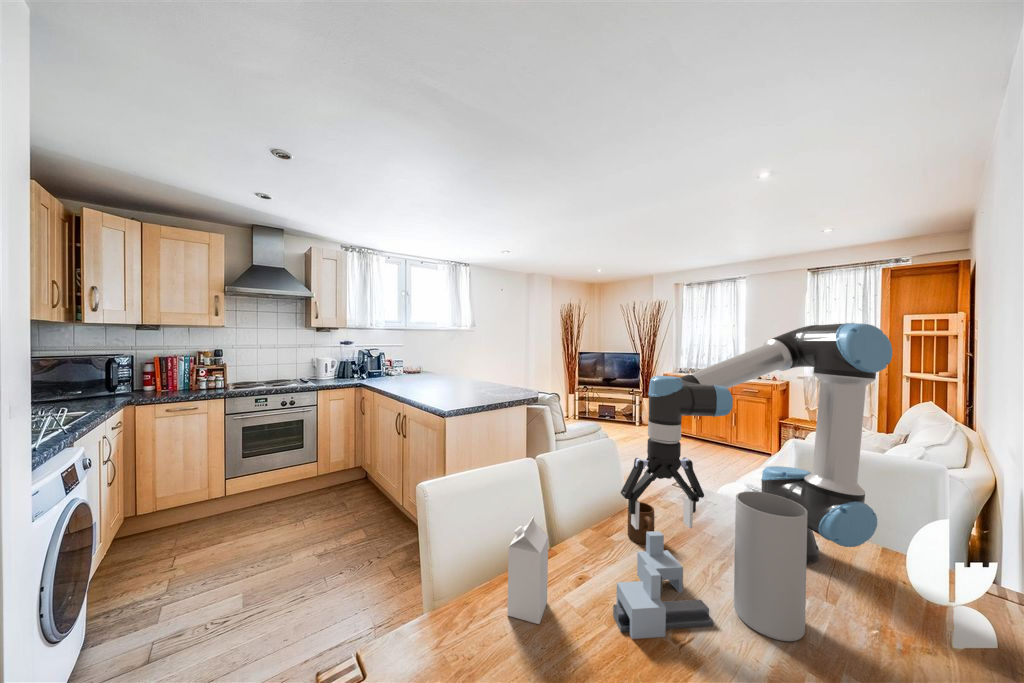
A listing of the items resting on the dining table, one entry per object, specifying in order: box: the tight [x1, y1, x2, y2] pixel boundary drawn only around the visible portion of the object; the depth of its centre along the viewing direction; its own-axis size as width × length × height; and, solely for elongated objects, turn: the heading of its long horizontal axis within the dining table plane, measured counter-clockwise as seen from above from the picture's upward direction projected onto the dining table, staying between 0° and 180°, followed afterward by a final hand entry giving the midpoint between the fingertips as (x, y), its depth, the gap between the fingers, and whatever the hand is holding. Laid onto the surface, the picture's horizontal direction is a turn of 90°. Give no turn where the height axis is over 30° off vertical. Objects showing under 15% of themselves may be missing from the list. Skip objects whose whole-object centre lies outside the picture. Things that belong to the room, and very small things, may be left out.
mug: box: [627, 501, 655, 545], centre depth 108 cm, size 12×8×9 cm, turn 2°
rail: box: [612, 599, 714, 633], centre depth 77 cm, size 20×4×3 cm, turn 96°
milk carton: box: [507, 515, 549, 625], centre depth 80 cm, size 7×7×19 cm
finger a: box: [615, 565, 666, 640], centre depth 77 cm, size 8×8×11 cm
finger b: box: [636, 530, 684, 594], centre depth 90 cm, size 8×8×11 cm
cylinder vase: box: [733, 490, 807, 642], centre depth 78 cm, size 12×12×25 cm
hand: (661, 526), depth 90 cm, fingers open, 13 cm apart
